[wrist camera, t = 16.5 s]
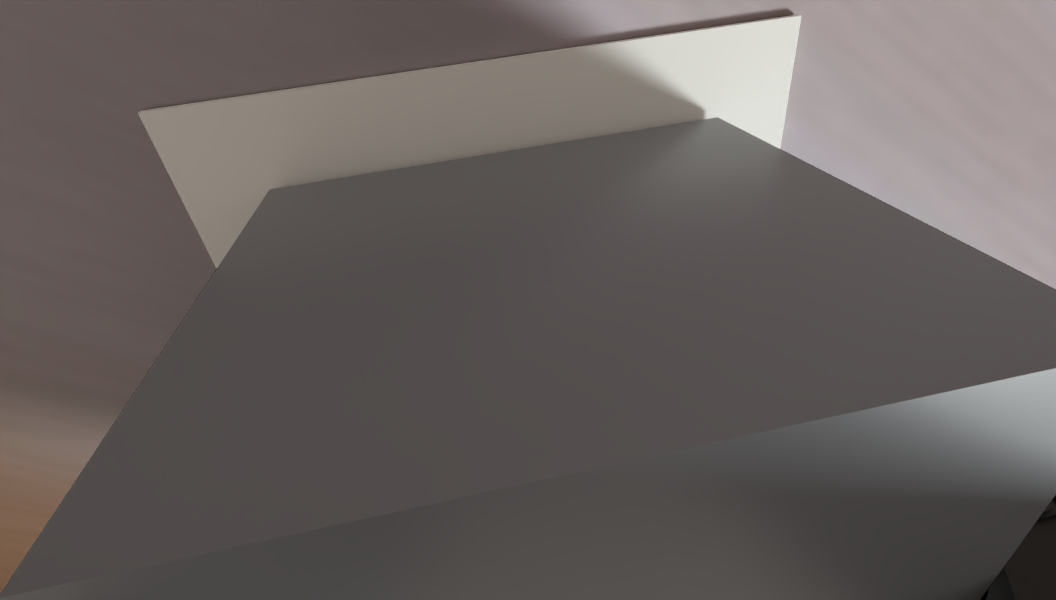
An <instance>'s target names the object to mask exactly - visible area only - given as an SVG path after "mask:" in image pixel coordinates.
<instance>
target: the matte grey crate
mask: <svg viewBox="0 0 1056 600" xmlns="http://www.w3.org/2000/svg"><path fill="white" fill-rule="evenodd" d="M1055 495H1056V289H1054V288H1052V287H1050V286H1048V285H1046V284H1044V283H1042V282H1040V281H1038V280H1036V279H1034V278H1032V277H1030V276H1028V275H1026V274H1024V273H1022V272H1020V271H1018V270H1016V269H1014V268H1013V267H1011V266H1009V265H1007V264H1005V263H1003V262H1001V261H999V260H997V259H995V258H993V257H991V256H989V255H987V254H985V253H983V252H981V251H979V250H977V249H975V248H973V247H971V246H969V245H967V244H965V243H963V242H962V241H960V240H958V239H956V238H954V237H952V236H950V235H948V234H946V233H944V232H942V231H940V230H938V229H936V228H934V227H932V226H930V225H928V224H926V223H924V222H922V221H920V220H918V219H916V218H914V217H912V216H910V215H909V214H907V213H905V212H903V211H901V210H899V209H897V208H895V207H893V206H891V205H889V204H887V203H885V202H883V201H881V200H879V199H877V198H875V197H873V196H871V195H869V194H867V193H865V192H863V191H861V190H859V189H857V188H856V187H854V186H852V185H850V184H848V183H846V182H844V181H842V180H840V179H838V178H836V177H834V176H832V175H830V174H828V173H826V172H824V171H822V170H820V169H818V168H816V167H814V166H812V165H810V164H808V163H806V162H804V161H803V160H801V159H799V158H797V157H795V156H793V155H791V154H789V153H787V152H785V151H783V150H781V149H779V148H777V147H775V146H773V145H771V144H769V143H767V142H765V141H763V140H761V139H759V138H757V137H755V136H753V135H751V134H750V133H748V132H746V131H744V130H742V129H740V128H738V127H736V126H734V125H732V124H730V123H728V122H726V121H724V120H722V119H720V118H718V117H716V118H710V119H704V120H698V121H692V122H685V123H679V124H673V125H667V126H660V127H654V128H648V129H642V130H636V131H629V132H623V133H617V134H611V135H605V136H598V137H592V138H586V139H580V140H573V141H567V142H561V143H555V144H549V145H542V146H536V147H530V148H524V149H517V150H511V151H505V152H499V153H493V154H486V155H480V156H474V157H468V158H462V159H455V160H449V161H443V162H437V163H430V164H424V165H418V166H412V167H406V168H399V169H393V170H387V171H381V172H375V173H368V174H362V175H356V176H350V177H343V178H337V179H331V180H325V181H319V182H312V183H306V184H300V185H294V186H288V187H281V188H275V189H269V191H268V192H267V194H266V195H265V197H264V198H263V200H262V201H261V203H260V205H259V206H258V208H257V209H256V211H255V212H254V214H253V215H252V217H251V218H250V220H249V221H248V223H247V224H246V226H245V227H244V229H243V230H242V232H241V233H240V235H239V236H238V238H237V239H236V241H235V242H234V244H233V245H232V247H231V248H230V250H229V251H228V253H227V254H226V256H225V257H224V259H223V260H222V262H221V263H220V265H219V266H218V268H217V269H216V271H215V272H214V274H213V275H212V277H211V278H210V280H209V281H208V283H207V284H206V286H205V287H204V289H203V290H202V292H201V293H200V295H199V296H198V298H197V299H196V301H195V302H194V304H193V305H192V307H191V308H190V310H189V311H188V313H187V314H186V316H185V317H184V319H183V320H182V322H181V323H180V325H179V326H178V328H177V329H176V331H175V332H174V334H173V335H172V337H171V338H170V340H169V341H168V343H167V344H166V346H165V347H164V349H163V350H162V352H161V353H160V355H159V356H158V358H157V359H156V361H155V362H154V364H153V365H152V367H151V368H150V370H149V371H148V373H147V374H146V376H145V377H144V379H143V380H142V382H141V383H140V385H139V386H138V388H137V389H136V391H135V392H134V394H133V395H132V397H131V398H130V400H129V401H128V403H127V404H126V406H125V407H124V409H123V410H122V412H121V413H120V415H119V416H118V418H117V419H116V421H115V422H114V424H113V425H112V427H111V428H110V430H109V431H108V433H107V434H106V436H105V437H104V439H103V440H102V442H101V443H100V445H99V446H98V448H97V449H96V451H95V452H94V454H93V455H92V457H91V458H90V460H89V461H88V463H87V464H86V466H85V467H84V469H83V470H82V472H81V473H80V475H79V476H78V478H77V479H76V481H75V482H74V484H73V485H72V487H71V488H70V490H69V492H68V493H67V495H66V496H65V498H64V499H63V501H62V502H61V504H60V505H59V507H58V508H57V510H56V511H55V513H54V514H53V516H52V517H51V519H50V520H49V522H48V523H47V525H46V526H45V528H44V529H43V531H42V532H41V534H40V535H39V537H38V538H37V540H36V541H35V543H34V544H33V546H32V547H31V549H30V550H29V552H28V553H27V555H26V556H25V558H24V559H23V561H22V562H21V564H20V565H19V567H18V568H17V570H16V571H15V573H14V574H13V576H12V577H11V579H10V580H9V582H8V583H7V585H6V586H5V588H4V589H3V591H2V592H1V594H0V600H980V599H981V598H982V596H983V595H984V593H985V592H986V591H987V589H988V588H989V587H990V585H991V584H992V582H993V581H994V580H995V578H996V577H997V575H998V574H999V573H1000V571H1001V570H1002V569H1003V567H1004V566H1005V564H1006V563H1007V562H1008V560H1009V559H1010V557H1011V556H1012V555H1013V553H1014V552H1015V550H1016V549H1017V548H1018V546H1019V545H1020V544H1021V542H1022V541H1023V539H1024V538H1025V537H1026V535H1027V534H1028V532H1029V531H1030V530H1031V528H1032V527H1033V525H1034V524H1035V523H1036V521H1037V520H1038V519H1039V517H1040V516H1041V514H1042V513H1043V512H1044V510H1045V509H1046V507H1047V506H1048V505H1049V503H1050V502H1051V500H1052V499H1053V498H1054V496H1055Z"/></svg>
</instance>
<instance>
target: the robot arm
mask: <svg viewBox="0 0 1056 600" xmlns="http://www.w3.org/2000/svg"><path fill="white" fill-rule="evenodd" d="M980 600H1056V495H1055V496H1054V498H1053V499H1052V500H1051V502H1050V503H1049V505H1048V506H1047V507H1046V509H1045V510H1044V512H1043V513H1042V514H1041V516H1040V517H1039V519H1038V520H1037V521H1036V523H1035V524H1034V525H1033V527H1032V528H1031V530H1030V531H1029V532H1028V534H1027V535H1026V537H1025V538H1024V539H1023V541H1022V542H1021V544H1020V545H1019V546H1018V548H1017V549H1016V550H1015V552H1014V553H1013V555H1012V556H1011V557H1010V559H1009V560H1008V562H1007V563H1006V564H1005V566H1004V567H1003V569H1002V570H1001V571H1000V573H999V574H998V575H997V577H996V578H995V580H994V581H993V582H992V584H991V585H990V587H989V588H988V589H987V591H986V592H985V593H984V595H983V596H982V598H981V599H980Z"/></svg>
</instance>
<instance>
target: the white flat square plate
mask: <svg viewBox="0 0 1056 600" xmlns="http://www.w3.org/2000/svg"><path fill="white" fill-rule="evenodd" d="M801 16H802V15H790V16H784V17H777V18H770V19H763V20H756V21H749V22H743V23H736V24H729V25H722V26H715V27H708V28H702V29H695V30H688V31H681V32H674V33H667V34H661V35H654V36H647V37H640V38H633V39H626V40H620V41H613V42H606V43H599V44H592V45H585V46H579V47H572V48H565V49H558V50H551V51H544V52H538V53H531V54H524V55H517V56H510V57H503V58H497V59H490V60H483V61H476V62H469V63H462V64H456V65H449V66H442V67H435V68H428V69H421V70H415V71H408V72H401V73H394V74H387V75H380V76H374V77H367V78H360V79H353V80H346V81H339V82H333V83H326V84H319V85H312V86H305V87H298V88H292V89H285V90H278V91H271V92H264V93H257V94H251V95H244V96H237V97H230V98H223V99H216V100H210V101H203V102H196V103H189V104H182V105H175V106H169V107H162V108H155V109H148V110H142V111H140V112H138V115H139V117H140V119H141V121H142V123H143V125H144V127H145V129H146V131H147V133H148V135H149V136H150V138H151V140H152V142H153V144H154V146H155V148H156V150H157V152H158V154H159V156H160V158H161V160H162V162H163V164H164V166H165V168H166V170H167V172H168V174H169V176H170V178H171V180H172V182H173V184H174V186H175V188H176V190H177V192H178V194H179V196H180V198H181V200H182V202H183V204H184V206H185V208H186V210H187V212H188V214H189V216H190V218H191V220H192V222H193V224H194V226H195V228H196V230H197V231H198V233H199V235H200V237H201V239H202V241H203V243H204V245H205V247H206V249H207V251H208V253H209V255H210V257H211V259H212V261H213V263H214V265H215V267H216V269H217V268H218V266H219V265H220V263H221V262H222V260H223V259H224V257H225V256H226V254H227V253H228V251H229V250H230V248H231V247H232V245H233V244H234V242H235V241H236V239H237V238H238V236H239V235H240V233H241V232H242V230H243V229H244V227H245V226H246V224H247V223H248V221H249V220H250V218H251V217H252V215H253V214H254V212H255V211H256V209H257V208H258V206H259V205H260V203H261V201H262V200H263V198H264V197H265V195H266V194H267V192H268V191H269V189H275V188H281V187H288V186H294V185H300V184H306V183H312V182H319V181H325V180H331V179H337V178H343V177H350V176H356V175H362V174H368V173H375V172H381V171H387V170H393V169H399V168H406V167H412V166H418V165H424V164H430V163H437V162H443V161H449V160H455V159H462V158H468V157H474V156H480V155H486V154H493V153H499V152H505V151H511V150H517V149H524V148H530V147H536V146H542V145H549V144H555V143H561V142H567V141H573V140H580V139H586V138H592V137H598V136H605V135H611V134H617V133H623V132H629V131H636V130H642V129H648V128H654V127H660V126H667V125H673V124H679V123H685V122H692V121H698V120H704V119H710V118H716V117H718V118H720V119H722V120H724V121H726V122H728V123H730V124H732V125H734V126H736V127H738V128H740V129H742V130H744V131H746V132H748V133H750V134H751V135H753V136H755V137H757V138H759V139H761V140H763V141H765V142H767V143H769V144H771V145H773V146H775V147H777V148H779V149H780V147H781V140H782V134H783V128H784V122H785V116H786V109H787V103H788V97H789V91H790V84H791V78H792V72H793V66H794V60H795V53H796V47H797V41H798V35H799V29H800V22H801Z"/></svg>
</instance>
